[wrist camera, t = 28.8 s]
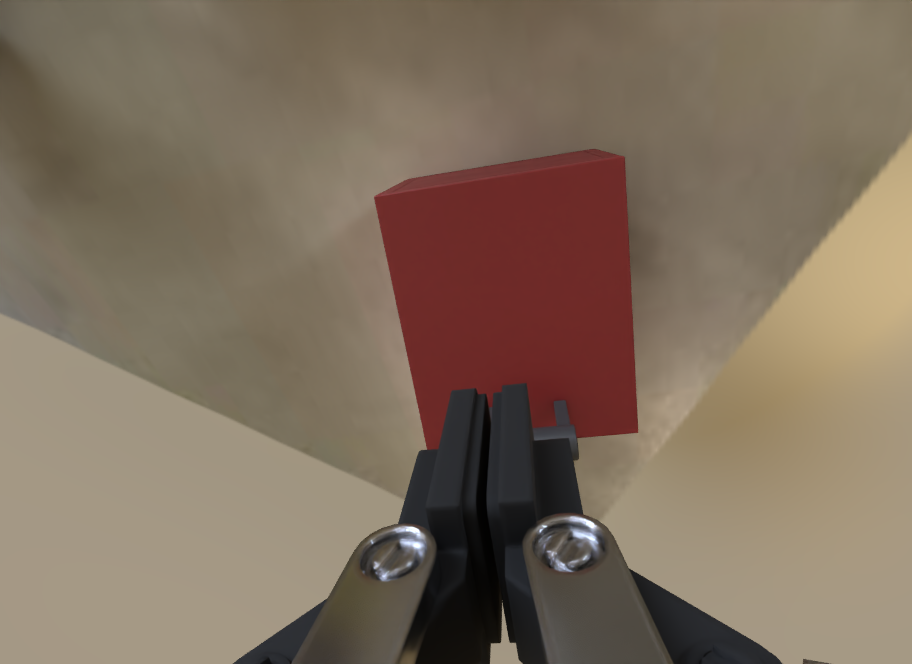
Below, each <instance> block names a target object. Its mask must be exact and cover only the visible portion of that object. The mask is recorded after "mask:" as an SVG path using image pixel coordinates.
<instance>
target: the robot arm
mask: <svg viewBox="0 0 912 664" xmlns="http://www.w3.org/2000/svg"><path fill="white" fill-rule="evenodd" d="M502 602H503V608H504V614H505V619H506V625H507V631H508V637H509V641H510V643H516V645H517V652H518V658H519V660H520V661H521V662H522V663H523V664H782V663H781V662H780V660H779V659H778V658H777V657H776V656H774V655H773V654H772V653H770V652H769V651H767V650H766V649H765V648H763V647H762V646H761V645H759V644H758V643H756V642H754V641H753V640H751V639H749V638H747V637H746V636H744V635H742V634H741V633H739V632H737V631H735V630H734V629H732V628H730V627H728V626H727V625H725V624H723V623H722V622H720V621H718V620H716V619H715V618H713V617H711V616H710V615H708V614H706V613H705V612H703V611H701V610H699V609H698V608H696V607H694V606H693V605H691V604H689V603H687V602H686V601H684V600H682V599H681V598H679V597H677V596H675V595H674V594H672V593H670V592H669V591H667V590H665V589H663V588H662V587H660V586H658V585H656V584H655V583H653V582H651V581H649V580H648V579H646V578H645V577H643V576H641V575H639V574H638V573H636V572H634V571H633V570H631V569H629V568H628V566H627V564H626V562H625V560H624V557H623V555H622V553H621V551H620V549H619V547H618V545H617V543H616V540H615V538H614V536H613V535H612V534H611V532H610V531H609V529H608V528H607V527H606V526H605V525H603V524H602V523H601V522H599V521H598V520H596V519H594V518H591V517H589V516H586V515H583V510H582V505H581V500H580V494H579V489H578V484H577V478H576V473H575V468H574V462H573V457H572V451H571V446H570V441H569V438H559V439H547V440H536V441H534V435H533V427H532V419H531V412H530V404H529V396H528V388H527V383H521V384H511V385H502V392H496V393H493V403H492V418H490V411H489V405H488V399H487V395H486V394H478V392H477V389H476V388H472V389H462V390H452V391H451V395H450V399H449V404H448V408H447V413H446V417H445V421H444V426H443V430H442V435H441V439H440V444H439V448H438V449H431V450H421V451H419V453H418V456H417V459H416V463H415V466H414V470H413V473H412V477H411V480H410V484H409V487H408V491H407V494H406V498H405V501H404V505H403V508H402V512H401V516H400V519H399V523H398V524H394V525H391V526H387V527H384V528H381V529H379V530H377V531H375V532H374V533H372V534H370V535H369V536H368V537H366V538H365V539H364V540H363V541H362V542H361V543H360V544H359V545H358V547H357V548H356V549H355V550H354V552H353V554H352V556H351V557H350V559H349V561H348V563H347V564H346V567H345V568H344V570H343V572H342V574H341V575H340V577H339V579H338V581H337V582H336V584H335V586H334V588H333V590H332V592H331V593H330V595H329V597H328V598H327V599H326V600H324V601H323V602H322V603H320V604H318V605H317V606H316V607H314V608H313V609H311V610H310V611H308V612H307V613H305V614H304V615H302V616H301V617H299V618H298V619H297V620H295V621H294V622H292V623H291V624H289V625H288V626H286V627H285V628H283V629H282V630H280V631H279V632H277V633H276V634H275V635H273V636H272V637H270V638H269V639H267V640H266V641H264V642H263V643H261V644H260V645H259V646H257V647H256V648H254V649H253V650H251V651H250V652H248V653H247V654H245V655H244V656H242V657H241V658H239V659H238V660H237V661H236V662H234V663H233V664H490V647H491V643H500V642H501V630H502V629H501V628H502V627H501V626H502ZM803 664H829V663H824V662H818V661H812V660H806V659H803Z"/></svg>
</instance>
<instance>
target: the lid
mask: <svg viewBox="0 0 912 664" xmlns="http://www.w3.org/2000/svg"><path fill="white" fill-rule="evenodd" d="M374 199H375V204H376V209H377V214H378V218H379V223H380V228H381V233H382V237H383V242H384V247H385V252H386V256H387V261H388V266H389V271H390V275H391V280H392V285H393V290H394V294H395V299H396V304H397V308H398V313H399V318H400V323H401V327H402V332H403V337H404V342H405V346H406V351H407V356H408V361H409V365H410V370H411V375H412V380H413V384H414V389H415V394H416V399H417V403H418V408H419V413H420V418H421V422H422V427H423V432H424V437H425V441H426V446H427V450H431V449H438V448H439V444H440V439H441V435H442V430H443V426H444V421H445V417H446V413H447V408H448V404H449V399H450V395H451V391H452V390H462V389H472V388H476V389H477V392H478V394H486V395H487V399H488V405H489V411H490V418H492V403H493V393H496V392H502V385H511V384H521V383H527V388H528V396H529V404H530V412H531V419H532V427H533V435H534V441H536V440H547V439H559V438H569V441H570V446H571V451H572V457H573V461H575V460H578V459H579V452H578V443H577V438H582V437H594V436H606V435H618V434H629V433H638V418H637V397H636V377H635V356H634V336H633V316H632V295H631V275H630V255H629V234H628V214H627V194H626V173H625V157H624V156H615V157H609V158H603V159H597V160H590V161H584V162H578V163H572V164H565V165H559V166H553V167H547V168H540V169H534V170H528V171H522V172H515V173H509V174H503V175H497V176H490V177H484V178H478V179H471V180H465V181H459V182H453V183H446V184H440V185H434V186H428V187H421V188H415V189H409V190H403V191H396V192H390V193H384V194H378V195H376V196H374Z"/></svg>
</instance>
